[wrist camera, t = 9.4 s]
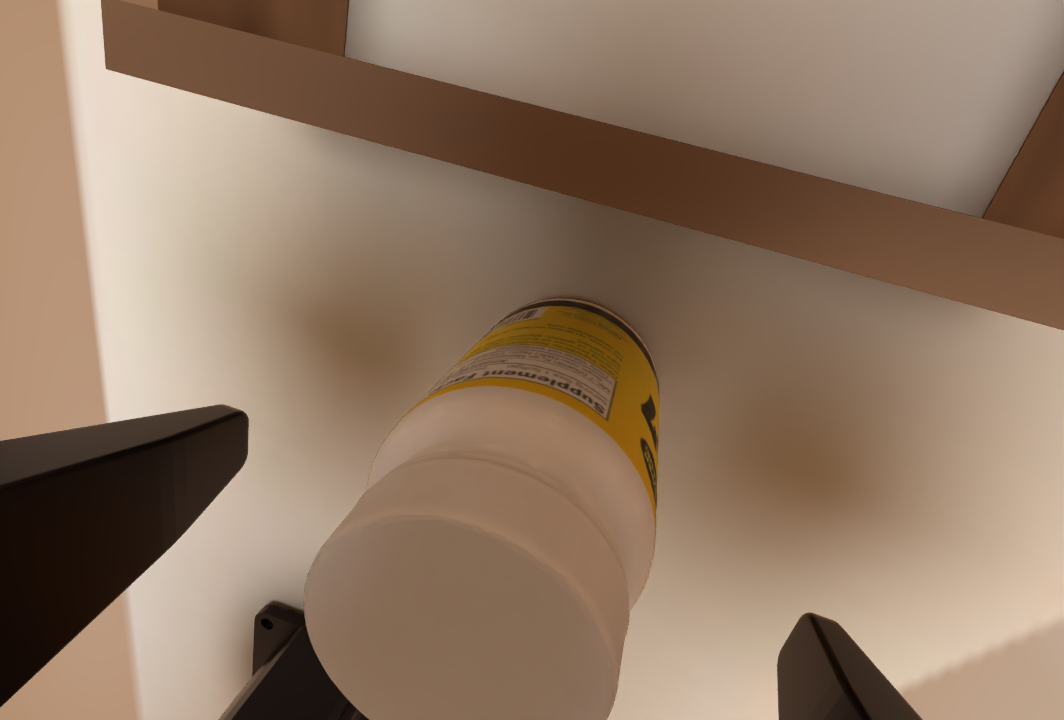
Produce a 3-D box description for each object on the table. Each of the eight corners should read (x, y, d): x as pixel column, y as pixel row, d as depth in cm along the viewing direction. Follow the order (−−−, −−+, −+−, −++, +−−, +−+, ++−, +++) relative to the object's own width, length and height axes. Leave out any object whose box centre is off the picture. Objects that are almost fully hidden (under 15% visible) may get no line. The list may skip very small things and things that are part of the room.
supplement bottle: (629, 486, 15) (587, 847, 7) (466, 433, 15) (265, 714, 8) (687, 323, 13) (714, 577, 5) (498, 270, 13) (274, 427, 6)
